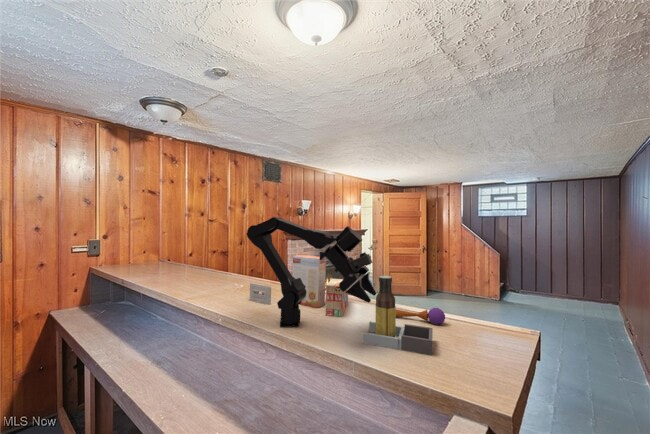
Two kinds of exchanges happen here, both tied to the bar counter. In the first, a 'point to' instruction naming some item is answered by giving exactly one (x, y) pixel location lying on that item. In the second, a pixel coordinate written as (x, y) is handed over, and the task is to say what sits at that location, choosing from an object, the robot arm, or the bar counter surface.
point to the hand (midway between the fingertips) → (372, 298)
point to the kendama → (425, 315)
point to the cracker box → (311, 278)
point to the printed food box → (335, 299)
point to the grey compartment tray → (403, 338)
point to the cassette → (260, 298)
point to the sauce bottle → (385, 308)
